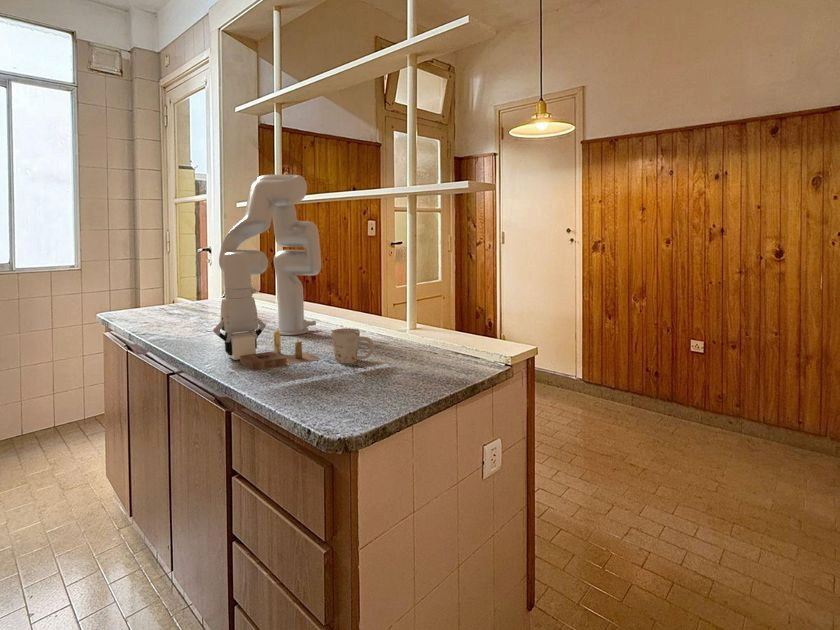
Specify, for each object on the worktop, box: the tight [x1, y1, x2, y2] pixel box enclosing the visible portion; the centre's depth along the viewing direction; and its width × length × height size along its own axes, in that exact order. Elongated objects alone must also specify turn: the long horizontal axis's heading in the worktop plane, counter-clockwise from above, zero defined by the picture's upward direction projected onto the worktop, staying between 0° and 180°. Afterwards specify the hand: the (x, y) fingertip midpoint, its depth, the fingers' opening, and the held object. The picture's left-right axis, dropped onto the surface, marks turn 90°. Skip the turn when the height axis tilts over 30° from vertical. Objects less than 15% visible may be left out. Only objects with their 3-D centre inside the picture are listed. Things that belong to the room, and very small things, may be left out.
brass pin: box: [273, 330, 282, 355], centre depth 162 cm, size 2×2×8 cm
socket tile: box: [239, 350, 288, 371], centre depth 150 cm, size 10×10×3 cm
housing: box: [227, 331, 257, 361], centre depth 156 cm, size 6×6×7 cm
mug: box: [330, 328, 375, 364], centre depth 154 cm, size 8×13×10 cm, turn 95°
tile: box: [283, 340, 321, 365], centre depth 156 cm, size 10×10×6 cm
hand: (241, 352), depth 156 cm, fingers closed on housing, 6 cm apart
